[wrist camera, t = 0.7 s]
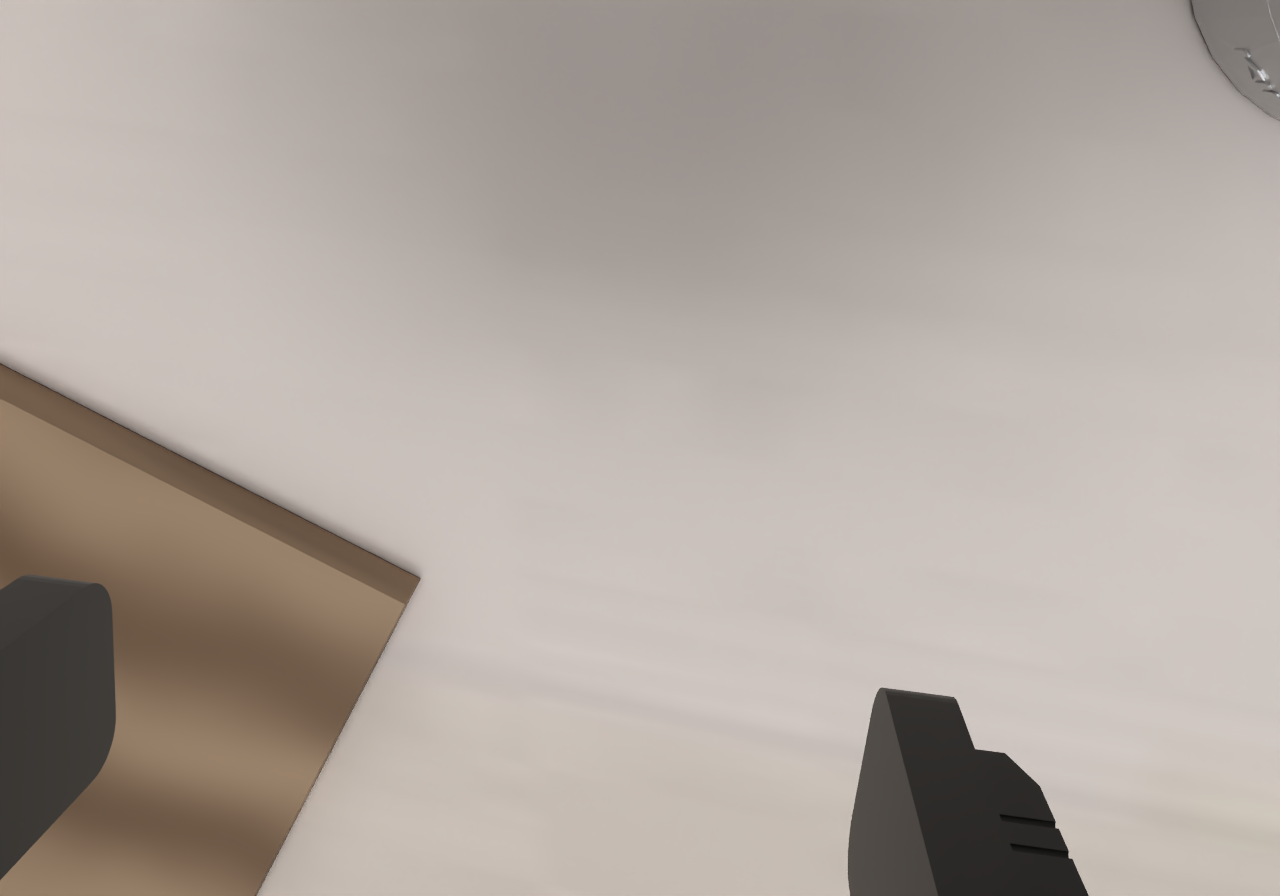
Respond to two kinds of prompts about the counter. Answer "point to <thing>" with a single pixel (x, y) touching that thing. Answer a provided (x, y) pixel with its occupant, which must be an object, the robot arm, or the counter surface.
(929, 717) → the robot arm
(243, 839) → the socket base
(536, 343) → the counter surface
